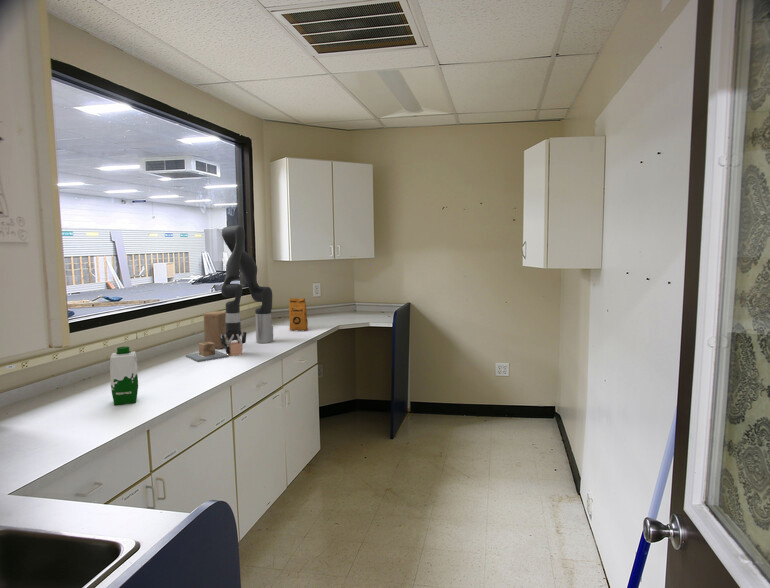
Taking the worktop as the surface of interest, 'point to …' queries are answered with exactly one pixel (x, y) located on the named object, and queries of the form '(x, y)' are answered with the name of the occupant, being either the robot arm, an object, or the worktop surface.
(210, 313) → the wooden block
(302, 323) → the coffee package
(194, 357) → the slate mat
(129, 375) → the milk carton
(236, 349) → the terracotta cube
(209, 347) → the walnut cube
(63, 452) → the worktop surface
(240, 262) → the robot arm
